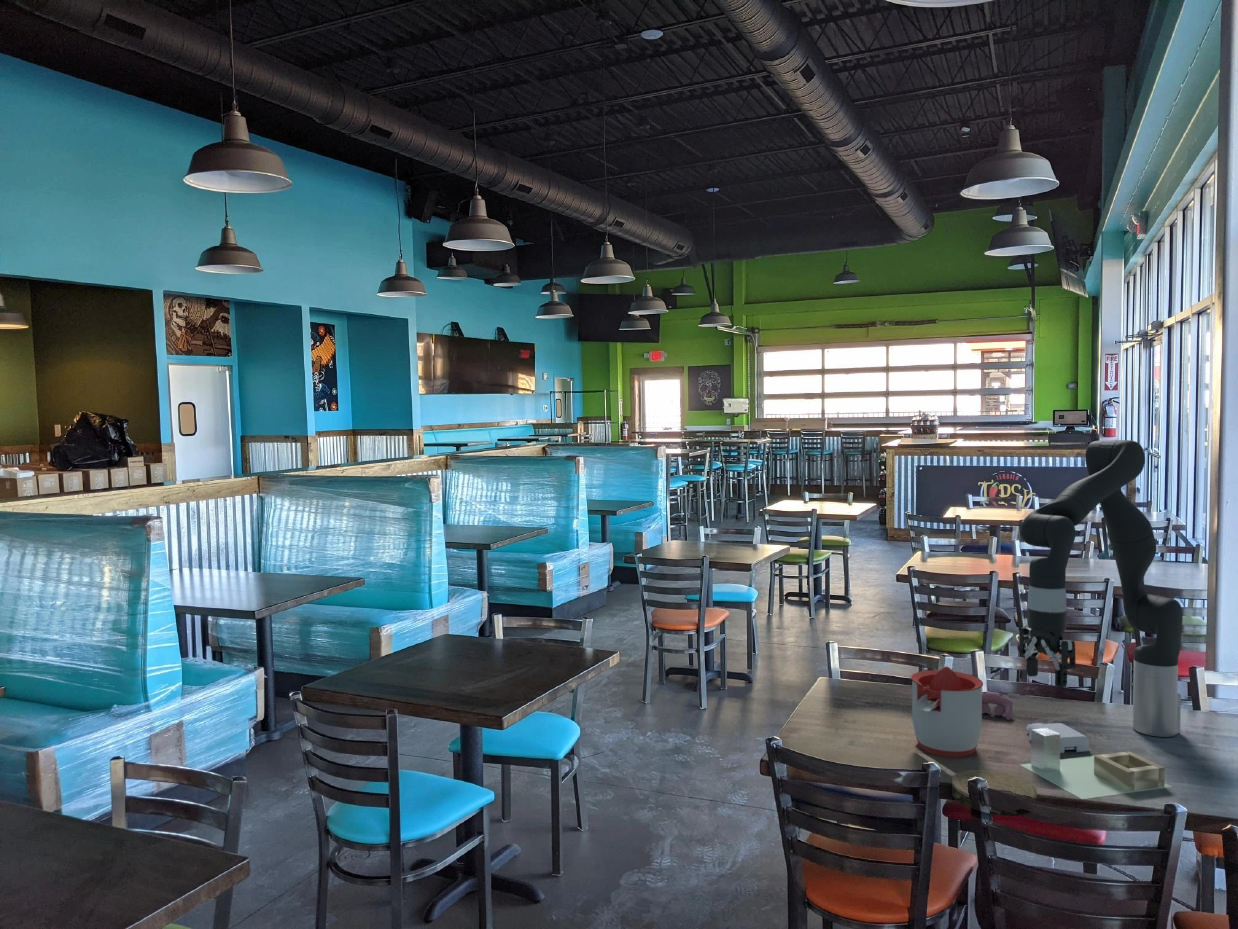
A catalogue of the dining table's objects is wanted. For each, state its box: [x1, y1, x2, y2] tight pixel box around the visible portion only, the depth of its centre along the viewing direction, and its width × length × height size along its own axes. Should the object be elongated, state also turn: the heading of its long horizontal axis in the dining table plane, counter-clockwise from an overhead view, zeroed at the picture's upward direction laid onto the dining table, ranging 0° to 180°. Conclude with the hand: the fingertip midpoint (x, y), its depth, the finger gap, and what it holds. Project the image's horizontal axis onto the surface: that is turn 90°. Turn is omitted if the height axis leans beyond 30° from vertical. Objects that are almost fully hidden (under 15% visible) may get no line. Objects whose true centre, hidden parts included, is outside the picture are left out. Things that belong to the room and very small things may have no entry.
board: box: [1020, 753, 1173, 800], centre depth 183 cm, size 22×18×1 cm
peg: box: [1030, 728, 1061, 773], centre depth 187 cm, size 4×4×8 cm
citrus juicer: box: [910, 666, 984, 758], centre depth 199 cm, size 16×17×20 cm
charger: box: [1025, 722, 1090, 754], centre depth 203 cm, size 5×9×15 cm
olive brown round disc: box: [951, 769, 1038, 817], centre depth 175 cm, size 16×16×3 cm
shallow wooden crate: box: [1093, 751, 1166, 791], centre depth 180 cm, size 9×9×4 cm
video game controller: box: [982, 691, 1014, 721], centre depth 224 cm, size 10×5×7 cm, turn 58°
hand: (1046, 681), depth 187 cm, fingers open, 8 cm apart
